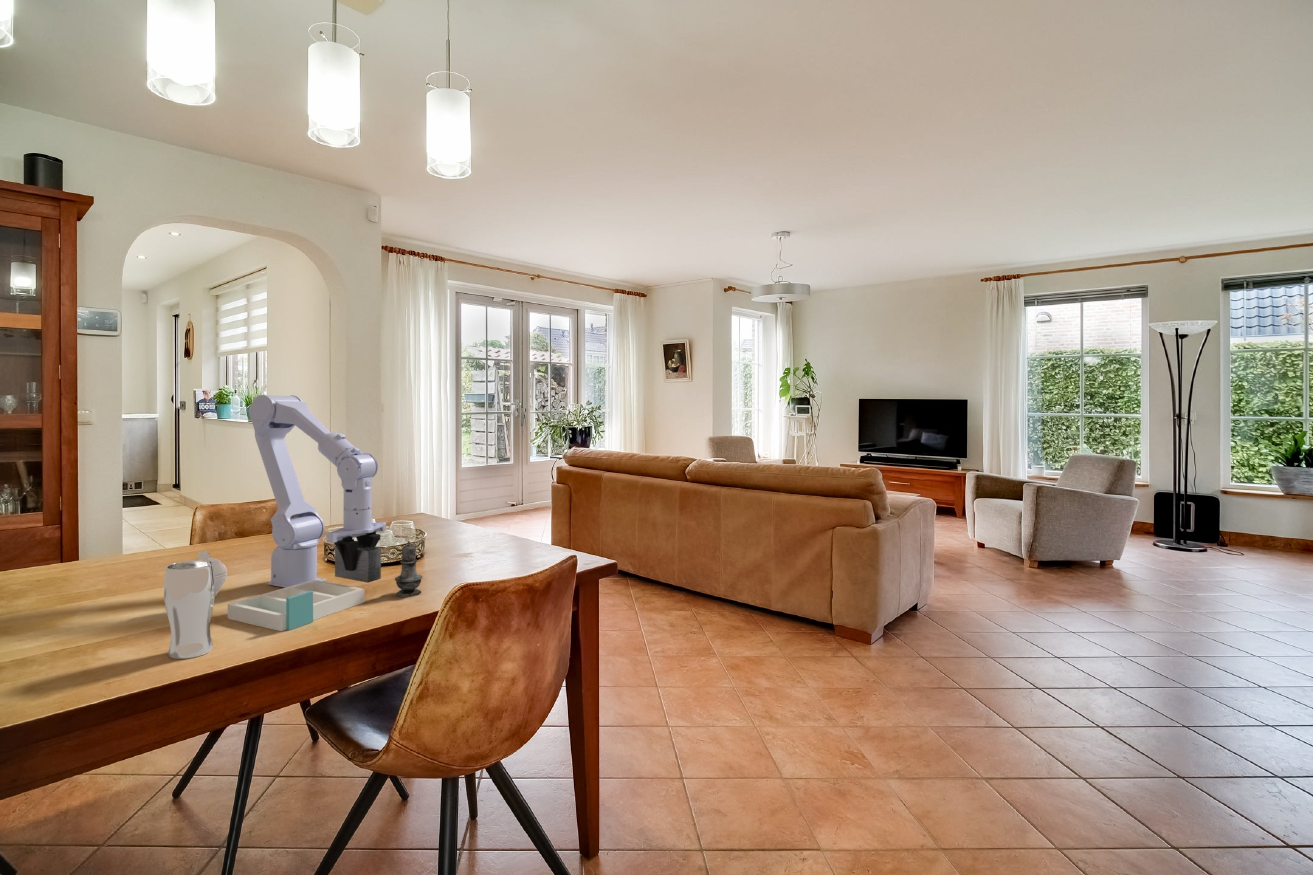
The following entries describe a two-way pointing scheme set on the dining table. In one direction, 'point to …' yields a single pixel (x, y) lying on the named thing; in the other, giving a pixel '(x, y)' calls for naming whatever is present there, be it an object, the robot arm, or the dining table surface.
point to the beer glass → (189, 607)
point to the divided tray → (295, 605)
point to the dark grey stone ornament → (408, 573)
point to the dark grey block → (361, 564)
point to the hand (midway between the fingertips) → (357, 568)
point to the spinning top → (215, 569)
